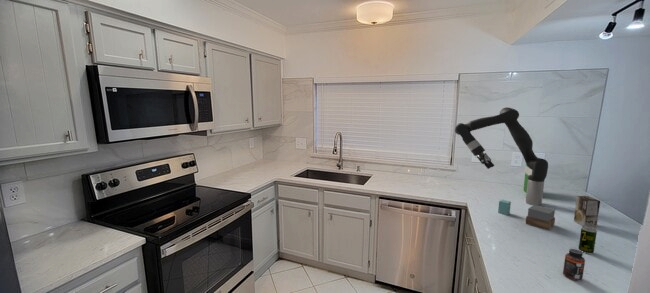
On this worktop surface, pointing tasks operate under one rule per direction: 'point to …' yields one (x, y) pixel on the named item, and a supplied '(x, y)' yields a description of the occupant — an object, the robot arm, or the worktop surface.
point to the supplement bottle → (574, 265)
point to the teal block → (504, 207)
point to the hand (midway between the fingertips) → (491, 167)
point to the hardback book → (527, 173)
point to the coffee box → (586, 211)
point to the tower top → (541, 213)
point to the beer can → (587, 239)
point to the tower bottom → (540, 223)
